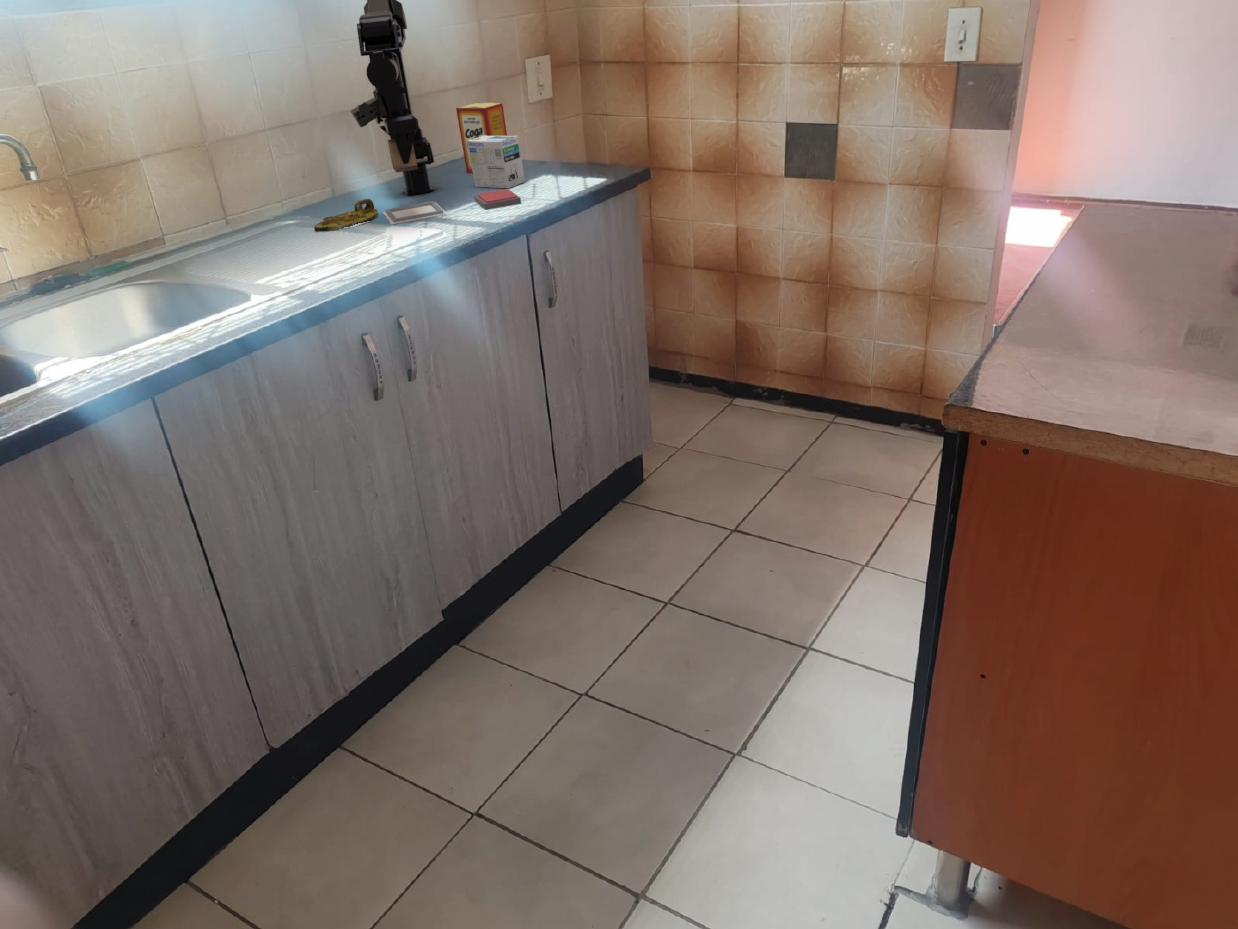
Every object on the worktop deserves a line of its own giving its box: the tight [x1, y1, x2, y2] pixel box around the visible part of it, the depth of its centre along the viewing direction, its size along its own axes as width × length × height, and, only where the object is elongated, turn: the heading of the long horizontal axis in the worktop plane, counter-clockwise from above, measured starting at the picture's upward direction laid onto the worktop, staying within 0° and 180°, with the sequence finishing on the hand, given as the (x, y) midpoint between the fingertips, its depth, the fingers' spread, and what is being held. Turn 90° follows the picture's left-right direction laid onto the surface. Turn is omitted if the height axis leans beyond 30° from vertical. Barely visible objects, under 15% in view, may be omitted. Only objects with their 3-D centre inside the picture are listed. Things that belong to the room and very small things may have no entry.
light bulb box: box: [467, 135, 526, 189], centre depth 217 cm, size 11×7×11 cm, turn 58°
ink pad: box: [473, 188, 522, 210], centre depth 204 cm, size 10×8×2 cm
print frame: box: [382, 200, 448, 225], centre depth 202 cm, size 12×12×1 cm
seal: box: [313, 198, 380, 232], centre depth 199 cm, size 9×5×15 cm
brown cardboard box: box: [387, 138, 418, 173], centre depth 196 cm, size 4×4×6 cm
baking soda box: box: [455, 102, 508, 174], centre depth 231 cm, size 10×6×16 cm
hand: (404, 161), depth 197 cm, fingers closed on brown cardboard box, 4 cm apart
